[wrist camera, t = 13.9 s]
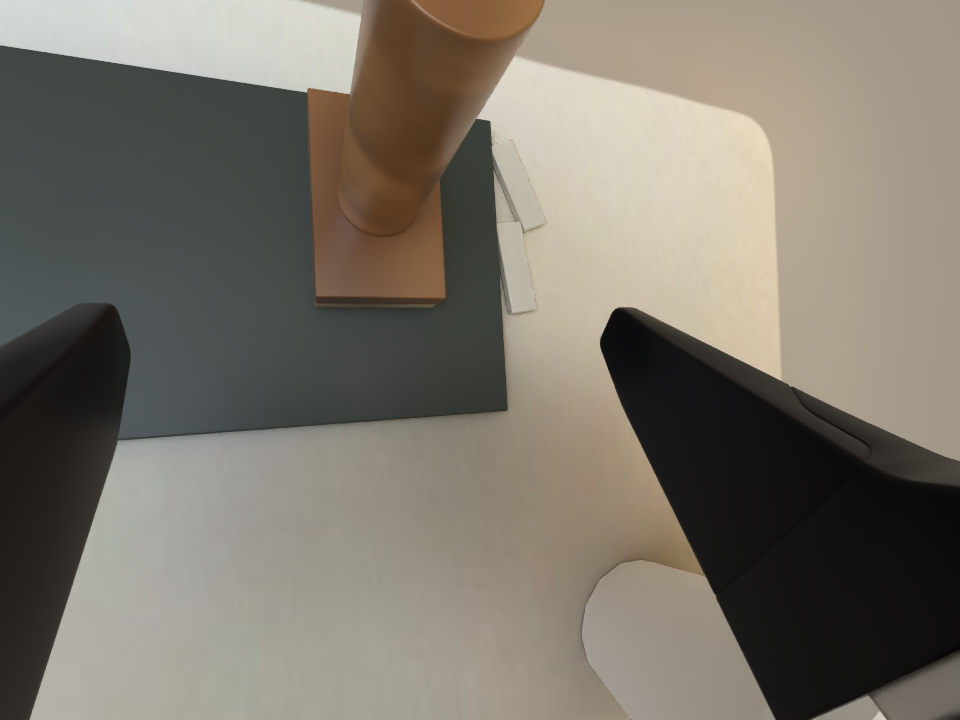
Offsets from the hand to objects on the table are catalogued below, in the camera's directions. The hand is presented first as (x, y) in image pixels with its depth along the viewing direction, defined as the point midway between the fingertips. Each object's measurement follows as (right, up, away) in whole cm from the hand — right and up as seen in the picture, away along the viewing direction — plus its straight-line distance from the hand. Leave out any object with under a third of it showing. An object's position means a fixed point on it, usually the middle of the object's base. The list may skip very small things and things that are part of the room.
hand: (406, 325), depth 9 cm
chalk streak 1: (+3, +8, +15) cm, 18 cm away
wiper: (-3, +6, +12) cm, 13 cm away
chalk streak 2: (+3, +4, +15) cm, 16 cm away
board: (-8, +4, +11) cm, 14 cm away
